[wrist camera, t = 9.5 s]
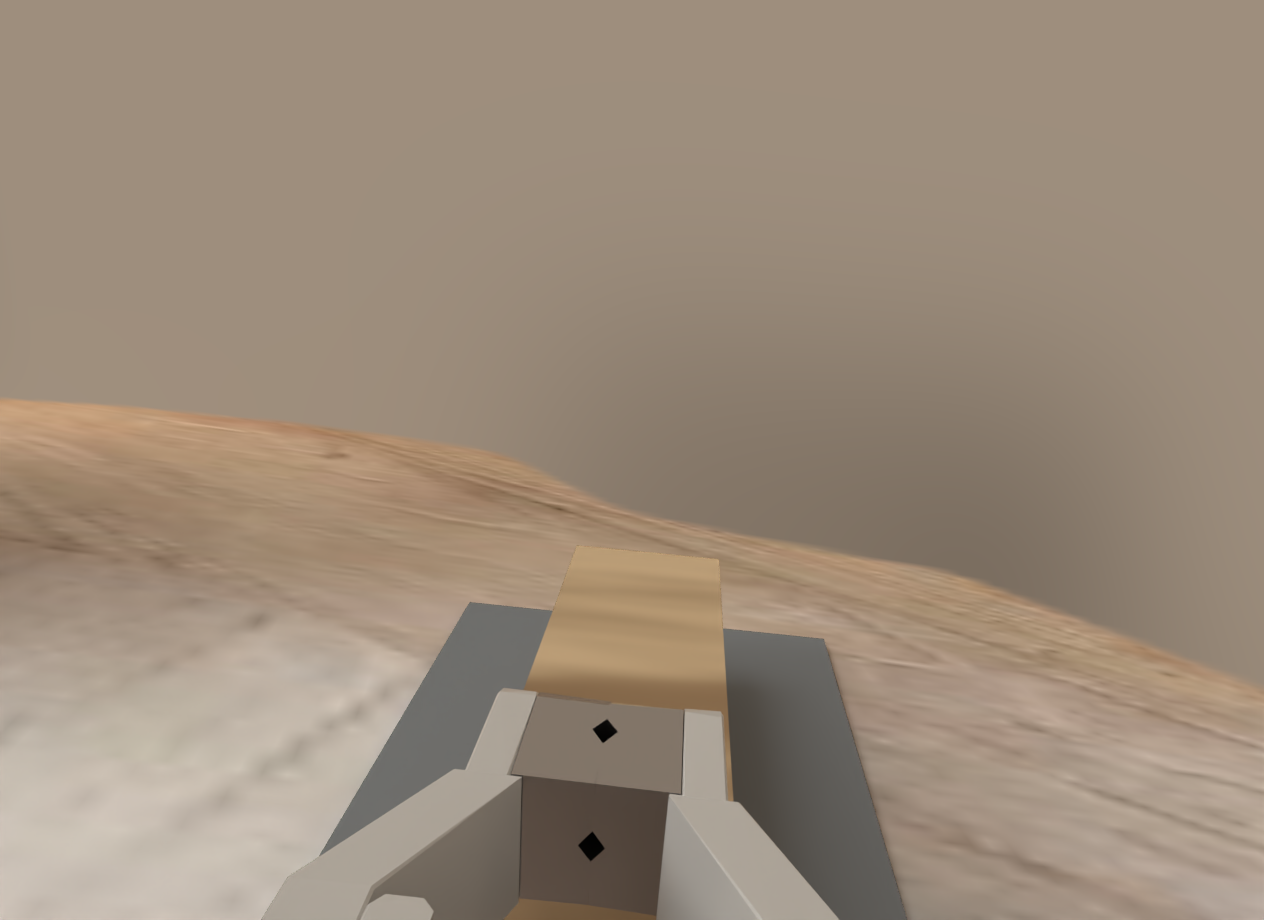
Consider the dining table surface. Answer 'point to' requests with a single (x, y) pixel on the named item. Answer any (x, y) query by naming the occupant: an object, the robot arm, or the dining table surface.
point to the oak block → (632, 653)
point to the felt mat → (759, 745)
